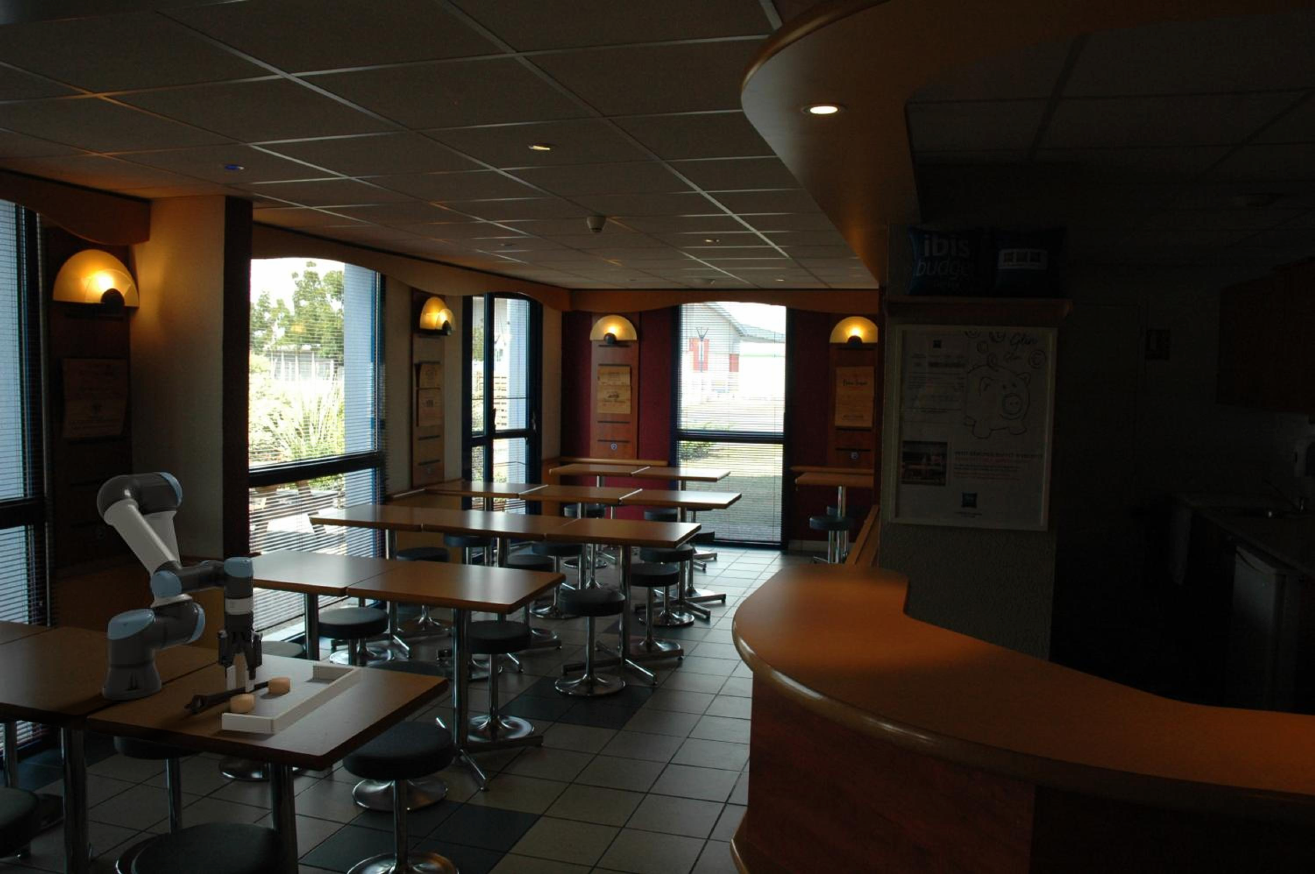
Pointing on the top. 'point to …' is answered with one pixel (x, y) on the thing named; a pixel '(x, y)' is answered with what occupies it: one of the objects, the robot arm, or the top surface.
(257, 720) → the chip tray
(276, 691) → the puck
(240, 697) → the puck
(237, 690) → the black hooked stick
